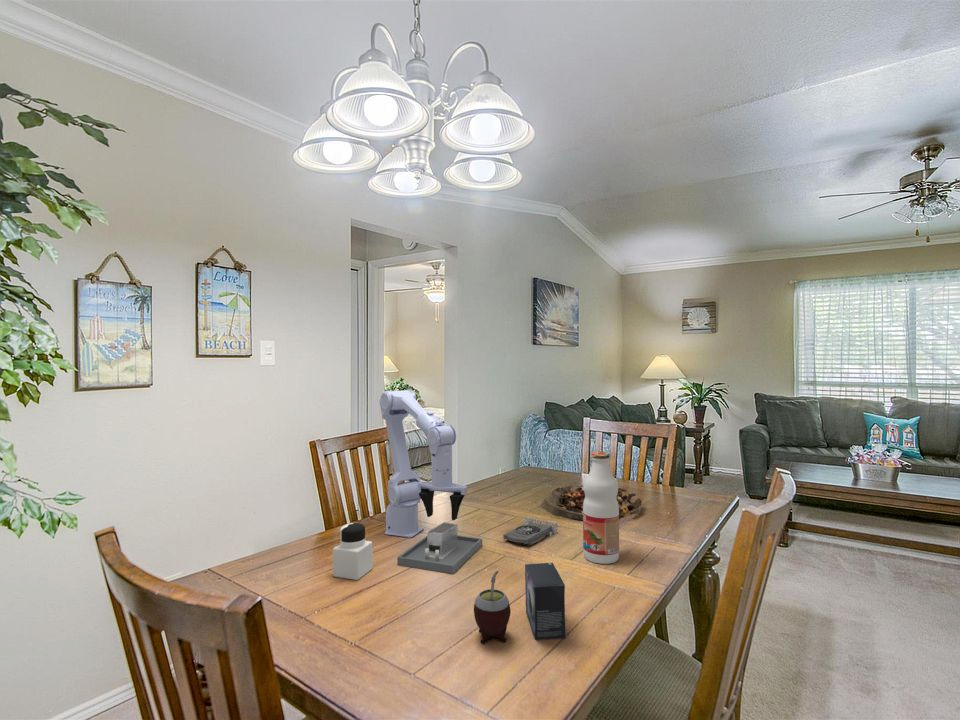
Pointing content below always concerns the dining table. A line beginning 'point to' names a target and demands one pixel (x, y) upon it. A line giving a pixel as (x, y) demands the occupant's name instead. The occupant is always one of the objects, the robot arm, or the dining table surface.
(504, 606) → the mate gourd
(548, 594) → the small box
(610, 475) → the fruit juice
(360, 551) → the medicine bottle
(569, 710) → the dining table surface
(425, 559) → the tray
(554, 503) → the food dish
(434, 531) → the block
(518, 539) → the graphics card
